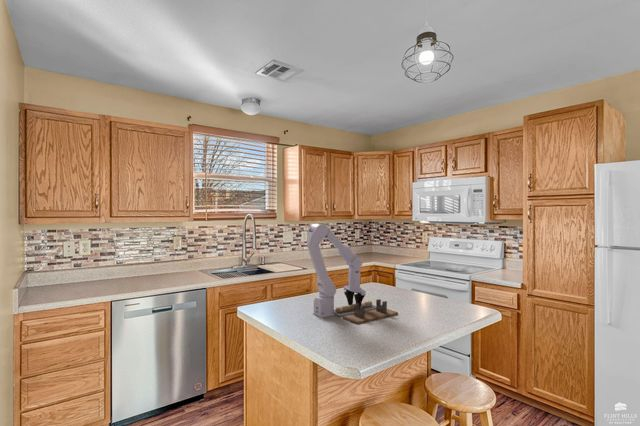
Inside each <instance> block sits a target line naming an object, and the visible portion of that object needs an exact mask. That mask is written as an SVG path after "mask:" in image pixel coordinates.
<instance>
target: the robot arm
mask: <svg viewBox="0 0 640 426" xmlns="http://www.w3.org/2000/svg"><path fill="white" fill-rule="evenodd" d="M307 233H308V235H307V239H306V246H307V250H308V252H309V256H310V258H311V261H312V264H313V268H314V271H315V273H316V277H317V279H316V282H317V285H316V289H317V291H318V293H319V294H318V296H317V297H315V298H314V300H313V312H312V315H315V316H316V317H319V318H321V319H323V318H328V317H333V316H335V314H334V310H335V295H336V293H337V287H336V285H335V284H334V283H333V280H332V279H331V278H330V276H329V273H328V271H327V268H326V267H327V266H326V265H325V261H324V259H323V255H322V251H321V249H320V244H321V242H322V241H323V240H324V239H327V240H328V241H329V242H330V243H331V244H332V245H333V246H334V247H335V248H336V249H337V253H338V254H339V256H341V257H342V259H344V261H345V262H346V264H347V266H348V285H343V291H344V292H343V293H344V295H345V297H346V300H347V305H352V304H354V302H355V304H357V303H358V304H359V308H360V306H361V303H363V300H364V298H365V296H366V290H365V289H362V287H361V267H362V266H363V261H362V259H361V257H360V256H357V253H356V252H355V251H353V250H352V249H351V246H350V245H347V244H343V243H342V241H340V239H339V237H337V236H336V234H335V233H334V232H333V231H332V229H331V228H329V227H328V226H327V225H326V224H323V223H321V224H320V223H312V224H311V225H310V227H309V228H308V230H307ZM354 299H355V300H354Z"/></svg>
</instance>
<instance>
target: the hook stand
mask: <svg viewBox="0 0 640 426" xmlns="http://www.w3.org/2000/svg"><path fill="white" fill-rule="evenodd" d="M375 303H376V304H375V306H376V309H374V310H370V311H365V306H364V305H363V306H360V309H359V304H358V303H357V304H356V303H353V304H354V314H351V315H347V316H342V319H343V320H345V321H348V322H350V323H352V324H354V325H360V324H365V323H368V322H373V321H378V320H381V319H385V318H389V317H393V316H398V315H399V313H398V312H397V311H395V310H392V309H388V301H387V300H384V301H382V300H381V299H380V298H379V299H376V302H375ZM381 303H382V304H381Z"/></svg>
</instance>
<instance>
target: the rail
mask: <svg viewBox="0 0 640 426" xmlns="http://www.w3.org/2000/svg"><path fill="white" fill-rule="evenodd" d="M354 304H355V303H353V304H352V305H348V304H347V305H343V306H338V307H335V308H334V310H335V311H336V313H339V312H344V311H349V310H354ZM363 305H364V306H365V307H368V306H372V305H373V302H372V301H371V300H368V301H362V303H361V306H363Z"/></svg>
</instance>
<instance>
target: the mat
mask: <svg viewBox="0 0 640 426" xmlns="http://www.w3.org/2000/svg"><path fill="white" fill-rule="evenodd" d="M359 309H360V308H359ZM374 309H376V305H373V304H372V306H368V307H365V311H370V310H374ZM334 314H335V315H334V316H336V317H338V318H343V316H347V315H351V314H354V310H349V311H344V312H339V313H336V311H335V309H334Z"/></svg>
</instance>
